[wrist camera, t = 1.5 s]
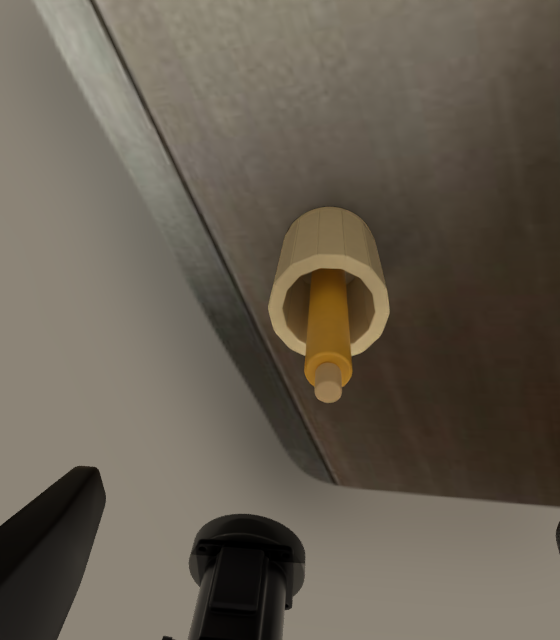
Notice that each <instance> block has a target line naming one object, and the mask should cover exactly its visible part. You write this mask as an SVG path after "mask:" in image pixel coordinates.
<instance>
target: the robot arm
mask: <svg viewBox="0 0 560 640" xmlns="http://www.w3.org/2000/svg"><path fill="white" fill-rule="evenodd" d="M105 502H106V495H105V490H104V487H103V483H102V480H101V476H100V472H99V470H98V469H97V468H96V467H89V466H77V467H75V468H73V469H72V470H70V471H69V472H68V473H67V474H65V475H64V476H63V477H62V478H61V479H59V480H58V481H57V482H55V483H54V484H53V485H51V486H50V487H49V488H48V489H46V490H45V491H44V492H43V493H41V494H40V495H39V496H38V497H36V498H35V499H34V500H32V501H31V502H30V503H29V504H27V505H26V506H25V507H24V508H22V509H21V510H20V511H19V512H17V513H16V514H15V515H13V516H12V517H11V518H10V519H8V520H7V521H6V522H5V523H3V524H2V525H1V526H0V640H57V638H58V636H59V634H60V631H61V629H62V626H63V624H64V621H65V619H66V617H67V614H68V612H69V610H70V608H71V605H72V603H73V601H74V598H75V596H76V593H77V591H78V588H79V586H80V583H81V580H82V578H83V575H84V572H85V568H86V565H87V562H88V559H89V555H90V552H91V549H92V546H93V542H94V539H95V536H96V533H97V530H98V526H99V523H100V520H101V517H102V513H103V510H104V507H105ZM556 541H557V545H558V549H559V553H560V522H559V524H558V527H557V530H556ZM195 551H196V558H197V566H198V574H199V582H200V591H199V595H198V599H197V603H196V607H195V611H194V616H193V620H192V624H191V628H190V632H189V637H188V640H282V636H283V623H284V610H289V609H291V608H292V598H293V554H294V551H293V548H292V547H290V546H287V545H277V544H264V543H251V542H238V541H225V540H212V539H199V540H198V541H197V543H196V547H195ZM162 640H174V639H172V637H168V636H163V639H162Z"/></svg>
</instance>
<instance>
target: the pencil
mask: <svg viewBox="0 0 560 640" xmlns="http://www.w3.org/2000/svg"><path fill="white" fill-rule="evenodd" d="M304 372H305V376H306V378H307V380H308V381H309V382H310V383H311V384H312V385H313V386H314V387H315V395H316V397H317V398H318V399H319V400H320V401H322V402H325V403H332V402H335V401H337V400H338V399H339V398H340V397H341V395H342V387H343V386H344V385H346V384H347V382H348V381H349V380H350V378H351V376H352V357H351V344H350V331H349V318H348V304H347V291H346V278H345V271H344V270H342V269H329V268H319V269H317V270H314V271H312V275H311V288H310V302H309V315H308V328H307V341H306V355H305V368H304Z"/></svg>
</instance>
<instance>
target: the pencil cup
mask: <svg viewBox="0 0 560 640" xmlns="http://www.w3.org/2000/svg"><path fill="white" fill-rule="evenodd" d="M319 268H329V269H342V270H344V271H345V278H346V291H347V304H348V318H349V331H350V344H351V356H354V355H357V354H360V353H362V352H364V351H365V350H366V349H367V348H368V347H369V346H370V345H371V344H372V343H374V342H375V341H376V340H377V339H378V338H379V337H380V335H381V334H382V332H383V330H384V327H385V325H386V322H387V319H388V317H389V314H390V313H389V312H390V307H389V300H388V293H387V287H386V283H385V279H384V275H383V271H382V267H381V263H380V259H379V255H378V251H377V247H376V243H375V239H374V237H373V235H372V233H371V231H370V229H369V227H368V226H367V225H366V223H365V222H364V221H363V220H362V219H361V218H360V217H358V216H357V215H356V214H354V213H352V212H350V211H348V210H345V209H342V208H338V207H322V208H317V209H313V210H311V211H309V212H306V213H305V214H303V215H301V216H300V217H299V218H298V219H296V220H295V222H294V223H293V224H292V225H291V226H290V228H289V229H288V231H287V233H286V235H285V237H284V241H283V245H282V249H281V253H280V257H279V262H278V266H277V270H276V274H275V278H274V283H273V287H272V291H271V295H270V299H269V304H268V311H269V315H270V319H271V322H272V326H273V329H274V331H275V333H276V334H277V335H278V336H279V337H280V338H281V339H282V341H283V342H284V343H285V344H286V345H287V346H288V347H289V348H290V349H291V350H293V351H295V352H298V353H300V354H302V355H304V356H305V355H306V341H307V328H308V315H309V302H310V288H311V275H312V271H314V270H317V269H319Z"/></svg>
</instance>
